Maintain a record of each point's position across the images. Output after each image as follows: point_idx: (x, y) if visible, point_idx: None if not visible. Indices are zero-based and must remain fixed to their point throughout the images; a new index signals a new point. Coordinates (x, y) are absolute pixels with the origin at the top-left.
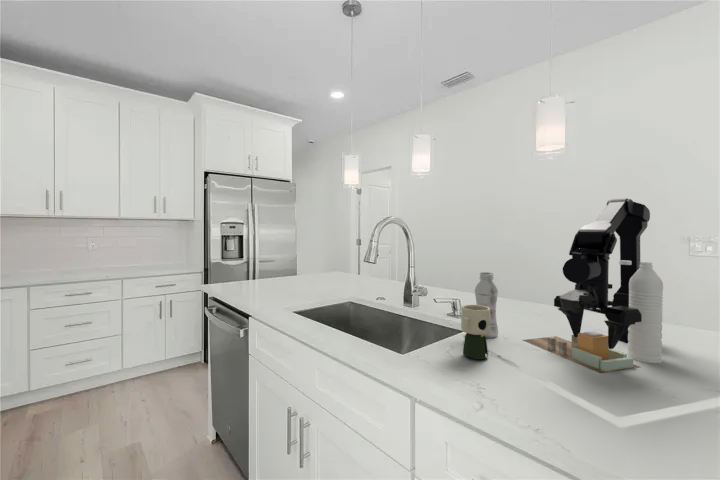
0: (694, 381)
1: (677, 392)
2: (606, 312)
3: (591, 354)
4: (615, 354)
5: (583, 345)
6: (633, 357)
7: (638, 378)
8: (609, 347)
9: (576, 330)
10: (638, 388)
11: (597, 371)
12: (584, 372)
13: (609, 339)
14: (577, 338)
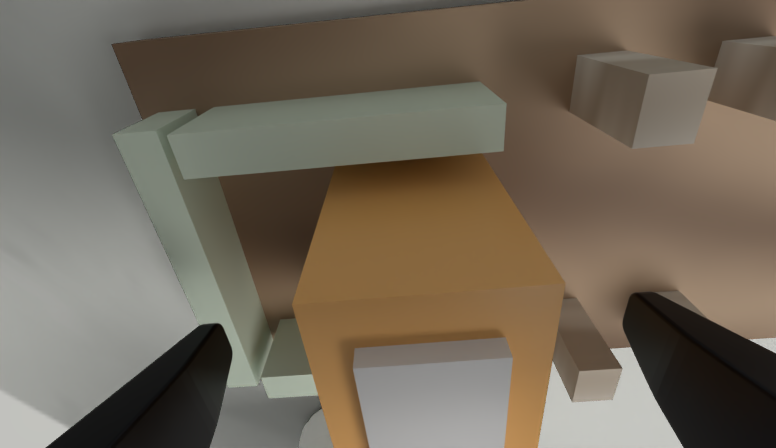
0: None
1: (3, 306)
2: None
3: (272, 146)
4: None
5: (435, 210)
6: None
7: (170, 279)
8: (202, 330)
9: (684, 368)
10: (2, 162)
11: (148, 43)
12: (265, 4)
13: (128, 405)
14: None
